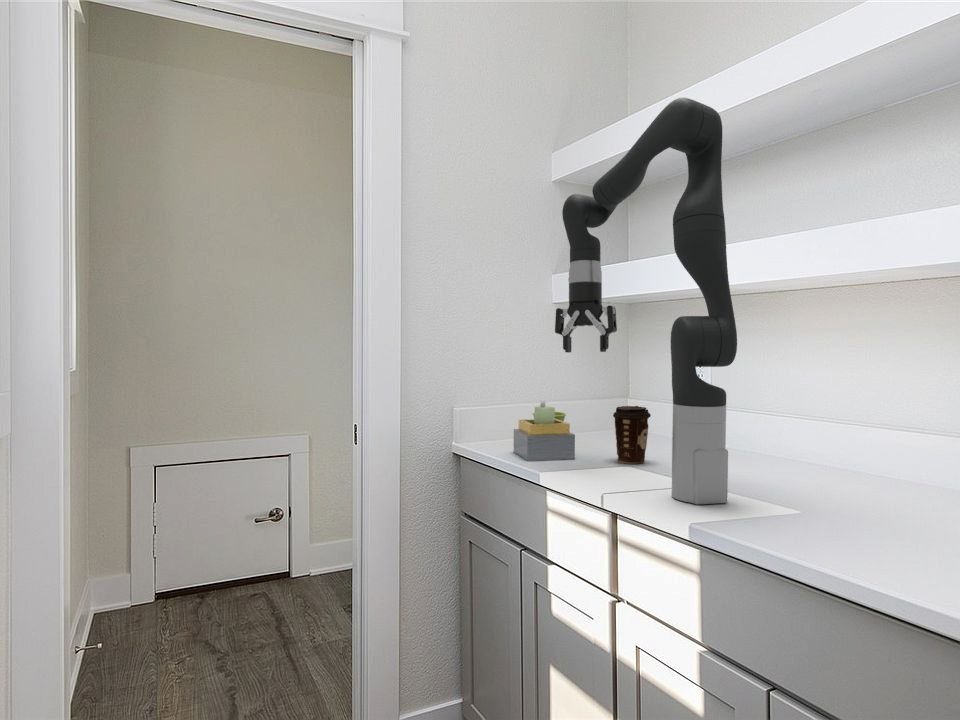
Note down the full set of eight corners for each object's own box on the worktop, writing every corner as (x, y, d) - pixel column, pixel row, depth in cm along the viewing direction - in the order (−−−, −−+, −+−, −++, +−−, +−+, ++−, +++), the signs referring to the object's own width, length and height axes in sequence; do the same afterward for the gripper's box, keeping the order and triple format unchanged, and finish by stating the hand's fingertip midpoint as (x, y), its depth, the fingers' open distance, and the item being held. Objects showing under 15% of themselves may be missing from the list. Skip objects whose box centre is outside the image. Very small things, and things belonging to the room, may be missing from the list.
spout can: (556, 445, 157) (558, 402, 157) (537, 445, 156) (538, 402, 156) (549, 441, 162) (550, 400, 162) (530, 442, 161) (532, 400, 160)
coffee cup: (647, 458, 155) (647, 405, 155) (653, 465, 147) (653, 409, 147) (611, 458, 156) (611, 405, 156) (614, 464, 148) (615, 408, 148)
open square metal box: (574, 459, 155) (574, 424, 155) (527, 461, 152) (527, 425, 152) (557, 450, 167) (558, 418, 166) (513, 452, 164) (513, 419, 164)
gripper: (620, 281, 147) (620, 352, 147) (563, 285, 155) (563, 352, 155) (609, 278, 141) (609, 351, 141) (550, 282, 148) (550, 352, 148)
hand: (585, 352), depth 148 cm, fingers open, 8 cm apart
